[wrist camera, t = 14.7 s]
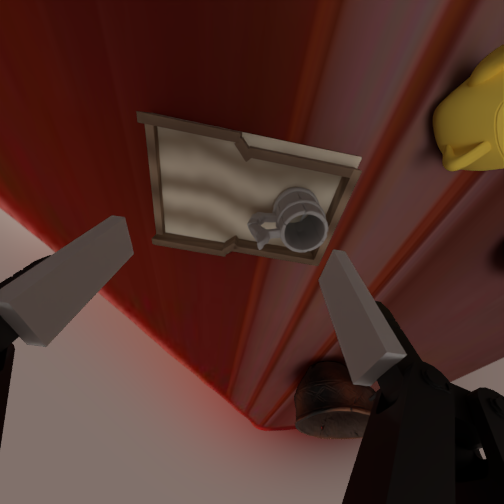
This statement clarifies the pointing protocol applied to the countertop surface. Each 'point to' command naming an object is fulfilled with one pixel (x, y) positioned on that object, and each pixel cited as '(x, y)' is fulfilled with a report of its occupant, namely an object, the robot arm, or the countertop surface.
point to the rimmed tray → (236, 186)
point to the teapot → (474, 119)
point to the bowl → (332, 403)
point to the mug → (292, 234)
